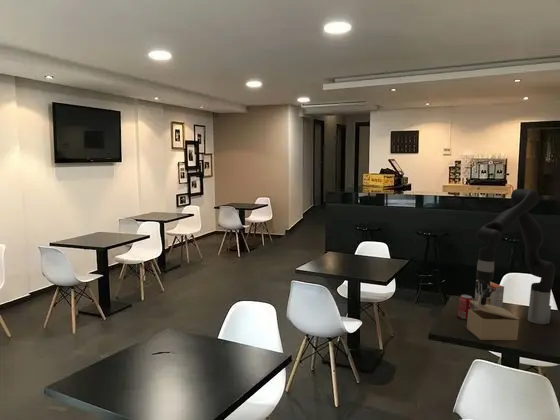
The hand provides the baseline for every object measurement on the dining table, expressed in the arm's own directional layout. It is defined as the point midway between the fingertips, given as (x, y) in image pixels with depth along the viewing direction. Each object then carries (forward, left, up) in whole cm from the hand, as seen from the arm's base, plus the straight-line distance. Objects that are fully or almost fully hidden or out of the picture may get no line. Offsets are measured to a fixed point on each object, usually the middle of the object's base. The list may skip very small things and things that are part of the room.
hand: (482, 303), depth 214 cm
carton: (-6, 0, -15) cm, 16 cm away
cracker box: (-13, -18, -16) cm, 27 cm away
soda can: (-3, -22, -15) cm, 27 cm away
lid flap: (-6, 0, -3) cm, 7 cm away
